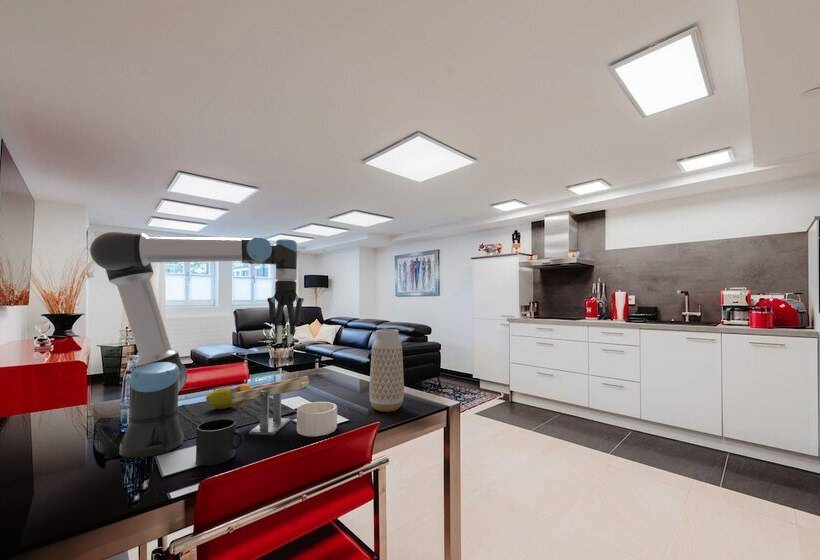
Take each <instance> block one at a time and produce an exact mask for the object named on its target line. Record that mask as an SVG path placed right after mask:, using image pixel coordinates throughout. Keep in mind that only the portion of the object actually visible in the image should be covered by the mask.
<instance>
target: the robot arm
mask: <svg viewBox="0 0 820 560" xmlns="http://www.w3.org/2000/svg"><path fill="white" fill-rule="evenodd" d="M275 241H276V242H275V244H271V243H270V241H269V240H268V239H267V238H266V237H263V236H255V237H251V238H247V237H245V238H244V237H243V238H242V237H241V238H240V237H237V238H236V237H178V236H174V237H173V236H172V237H171V236H169V237H168V236H166V237H165V236H163V237H162V236H161V237H160V236H153V237H152V236H148V235H147V234H145V233H136V232H135V233H134V232H133V233H132V232H120V231H110V232H109V231H108V232H105V233H102V234H100V235H98V236H97V237H96V238H95V239H93V241H92V242H91V245H90V250H89V252H90V256H91V258H92V261H94V262H95V263H94V264H96V265H97V266H99V267H100V268H102V269H105V273H106V275H107V278H108V281H109V283H111V284H112V285H115V286H116V287H117V289H118V293H119V296H120V299H121V302H122V305H123V309H124V311H125V315H126V317H127V321H128V324H129V327H130V331H131V334H132V337H133V340H134V343H135V346H136V349H137V353H138V356H139V359H138V360H137V362H136V364H135V365H136V366H135V368H134V369H133V370H132V372H131V373H130V378H129V381H128V383H129V400H128V401H129V403H128V405H129V407H128V424H127V426H126V429H125V432H124V435H123V437H122V440H121V442H120V444H119V456H121V457H123V458H129V459H138V458H139V459H140V458H146V457H147V458H148V457H154V456H157V455H161V454H164V453H167V452H170V451H172V450H174V449H176V448H178V447H179V446H181V445H182V444H183V443H184V435H185V434H184V431H183V430H182V427H181V426H182V425H181V423H180V421H179V417H178V409H179V408H178V407H179V392H180V391H181V390H182V389H183V388H184V386H185V384H186V383H187V379H188V371H187V368H186V366H185V364H184V363H183V362H182V361H181V358H180V354H179V351H178V350H176V349H173V348H172V346H171V344H170V340H169V337H168V333H167V331H166V327H165V324H164V321H163V317H162V314H161V310H160V309H159V305H158V301H157V298H156V296H155V290H154V289H153V286H152V282H151V278H152V277H153V275H154V270H153V267H152V263H194V262H195V263H202V262H204V263H205V262H206V263H207V262H211V263H213V262H241V263H242V264H249V265H253V264H254V265H275V280H276V281H275V283H274V285H275V286H274V294H273V296H271V297H268V298H267V300H266V301H267V302H268V310H269V324H270V325H273V326H274V334H275V335H276V344H278V345H279V344H282V343H283V325H282V323H281V322H282V318H283V313H284V312H283V311H284V307H285V306H286V308H287V313H288V322H289V325H288V326H287V344H288V345H291V344H293V335H295V333H296V325H300V323H301V317H302V305H303V303H304V300H305V298H303V297H300V296H298V294H297V282H296V280H297V277H298V276H297V263H298V248H297V247H298V246H297V245H298V244H297V241H296V240H294V239H289V238H288V239H287V238H286V239H285V238H284V239H283V238H280V239H277V240H275ZM276 302H277V306H276ZM294 302H296V303H295V304H296V305H295V308H294ZM276 308H277V309H276ZM294 309H295V310H294ZM294 311H295V312H294Z"/></svg>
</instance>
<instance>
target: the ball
mask: <svg viewBox="0 0 820 560" xmlns="http://www.w3.org/2000/svg"><path fill="white" fill-rule="evenodd" d="M242 384H243V385H241V384H240V385H241V387H240V389H239V391H240V392H242V391H247V390H251V387H252V386H250V384H248V383H242Z"/></svg>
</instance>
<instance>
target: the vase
mask: <svg viewBox="0 0 820 560" xmlns="http://www.w3.org/2000/svg"><path fill="white" fill-rule="evenodd" d="M399 332H400V331H399V329H390V328H389V329H386V328H384V329H382V328H381V329H377V330H375V339H374V341H373V343H372V345H371V356H370V358H371V359H370V372H369V373H370V374H369V376H370V377H369V387H368V389H369V391H368V392H369V401H370V402H369V403H370V404H371V406H372V408H373V409H374V410H376V411H379V412H384V413H385V412H395V411H397V410H398V409H400V407H401V406H402V404H403V402H404V397H405V382H404V381H405V380H404V361H403V360H404V358H403V357H404V356H403V345H402V343H401V341H400V339H399V335H400V334H399Z"/></svg>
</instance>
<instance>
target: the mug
mask: <svg viewBox="0 0 820 560" xmlns="http://www.w3.org/2000/svg"><path fill="white" fill-rule="evenodd" d="M236 436H238V437H239V438H240V442H239V443H238V444H236V441H237V439H236V438H237V437H236ZM195 442H196V444H195V445H196V446H195V462H196V464H198V465H199V466H207V467H208V466H216V465H221V464H225V463H226V462H228V461H231V460H232V459H233V458H234V457H235V455H236V449H239V448H241V447H242V446H243V444H244V443H245V437H244V434H243V433H242V432H241V431H238V430H237V422H236V421H235V420H234V419H232V418H217V419H212V420H208V421H205V422H202V423H200V424H198V426H197V427H196V441H195Z"/></svg>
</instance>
